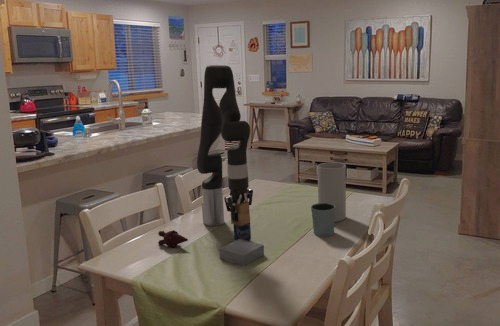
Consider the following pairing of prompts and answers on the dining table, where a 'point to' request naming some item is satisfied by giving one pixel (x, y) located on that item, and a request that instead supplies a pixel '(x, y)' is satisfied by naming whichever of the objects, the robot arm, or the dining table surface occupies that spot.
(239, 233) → the soda can
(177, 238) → the dark brown animal figure
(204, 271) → the dining table surface
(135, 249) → the dining table surface
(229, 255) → the slate base
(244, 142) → the robot arm
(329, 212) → the blue gray cup
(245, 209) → the walnut block
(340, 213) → the cylinder vase
